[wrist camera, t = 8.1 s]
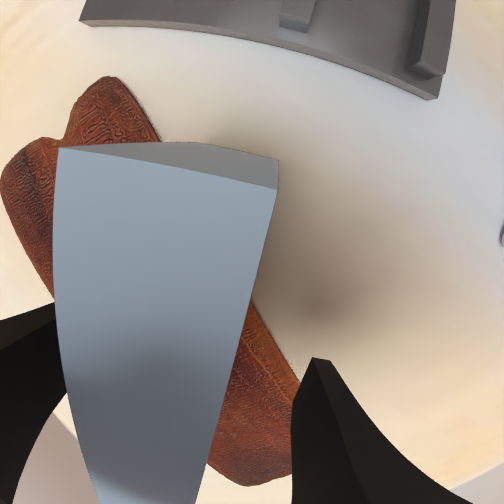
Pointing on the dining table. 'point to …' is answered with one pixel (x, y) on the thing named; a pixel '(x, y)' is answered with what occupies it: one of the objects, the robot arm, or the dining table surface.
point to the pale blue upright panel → (154, 303)
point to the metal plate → (313, 30)
